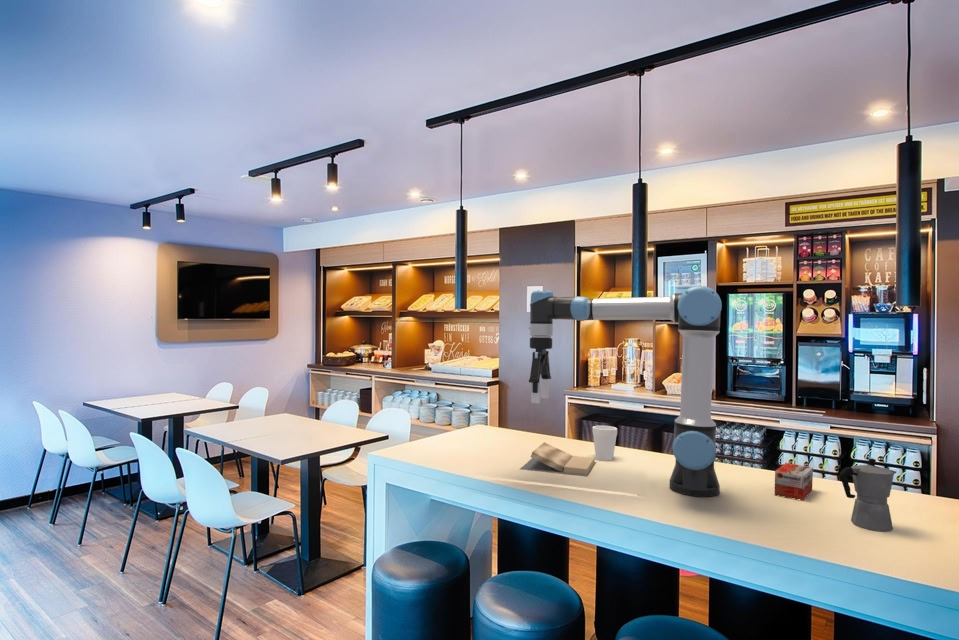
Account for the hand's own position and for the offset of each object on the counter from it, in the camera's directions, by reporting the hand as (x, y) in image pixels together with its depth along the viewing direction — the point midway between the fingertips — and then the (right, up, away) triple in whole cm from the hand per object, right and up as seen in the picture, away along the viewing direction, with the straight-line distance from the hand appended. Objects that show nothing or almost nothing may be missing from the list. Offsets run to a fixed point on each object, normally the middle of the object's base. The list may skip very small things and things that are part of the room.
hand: (540, 400), depth 183 cm
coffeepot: (+84, -29, -36) cm, 96 cm away
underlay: (+9, -28, +18) cm, 34 cm away
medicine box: (+81, -29, -7) cm, 86 cm away
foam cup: (+28, -28, +30) cm, 50 cm away
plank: (+6, -24, +19) cm, 31 cm away
